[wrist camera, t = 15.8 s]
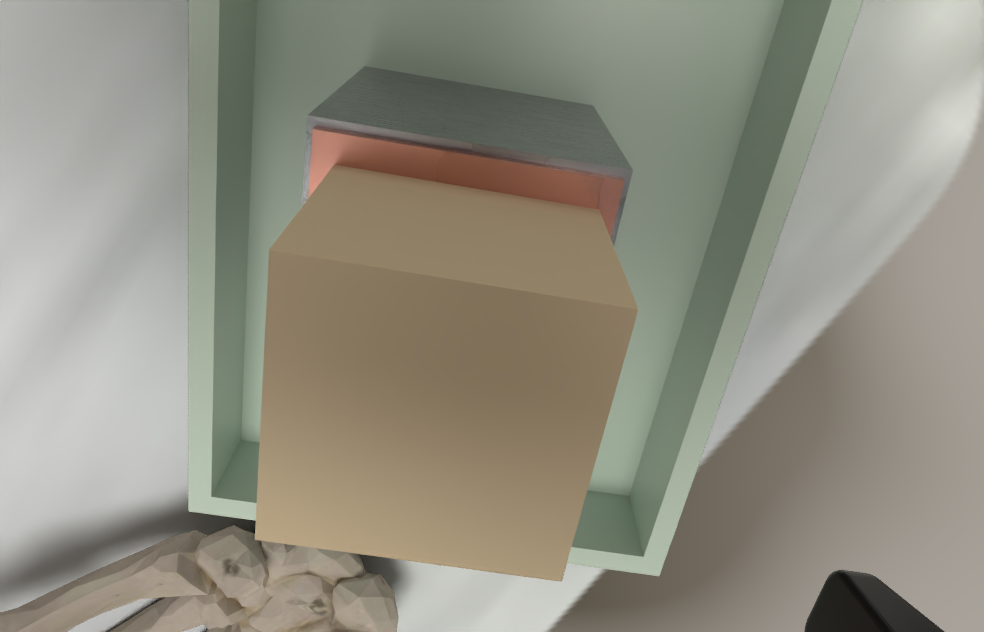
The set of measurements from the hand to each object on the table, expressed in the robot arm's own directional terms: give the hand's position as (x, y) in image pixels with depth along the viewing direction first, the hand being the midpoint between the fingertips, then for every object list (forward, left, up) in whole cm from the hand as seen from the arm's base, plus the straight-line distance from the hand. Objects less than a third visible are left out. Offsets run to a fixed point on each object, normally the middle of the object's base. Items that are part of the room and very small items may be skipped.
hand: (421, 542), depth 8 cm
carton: (0, 0, -6) cm, 6 cm away
